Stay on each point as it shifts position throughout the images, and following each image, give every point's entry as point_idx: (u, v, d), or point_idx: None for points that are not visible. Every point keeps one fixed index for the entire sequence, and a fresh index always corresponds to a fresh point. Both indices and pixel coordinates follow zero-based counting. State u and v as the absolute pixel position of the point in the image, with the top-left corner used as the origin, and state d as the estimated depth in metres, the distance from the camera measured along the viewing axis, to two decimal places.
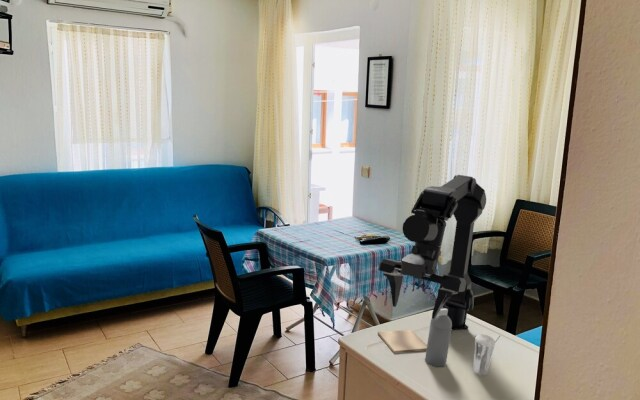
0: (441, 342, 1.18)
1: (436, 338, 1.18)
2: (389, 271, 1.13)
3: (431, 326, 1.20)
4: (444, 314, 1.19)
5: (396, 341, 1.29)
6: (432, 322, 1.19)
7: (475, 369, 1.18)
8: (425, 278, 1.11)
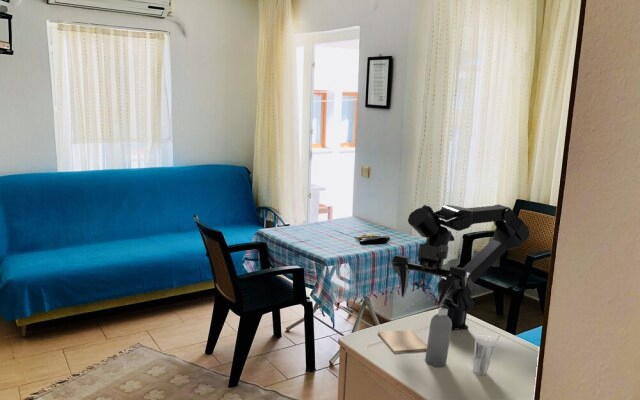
0: (441, 342, 1.18)
1: (436, 338, 1.18)
2: (402, 262, 1.28)
3: (431, 326, 1.20)
4: (444, 314, 1.19)
5: (396, 341, 1.29)
6: (432, 322, 1.19)
7: (475, 369, 1.18)
8: (433, 272, 1.28)
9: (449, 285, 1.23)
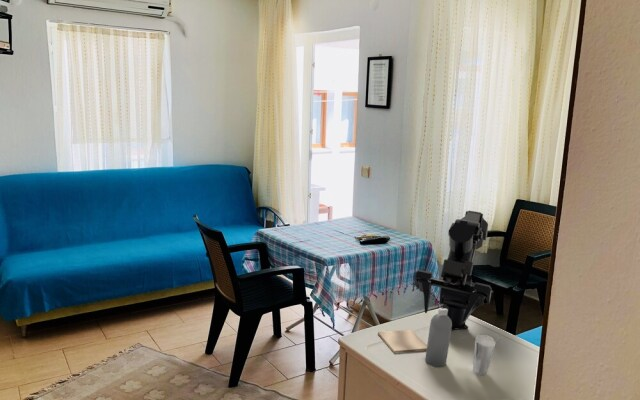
0: (441, 342, 1.18)
1: (436, 338, 1.18)
2: (425, 278, 1.27)
3: (431, 326, 1.20)
4: (444, 314, 1.19)
5: (396, 341, 1.29)
6: (432, 322, 1.19)
7: (475, 369, 1.18)
8: (456, 288, 1.26)
9: (474, 302, 1.22)
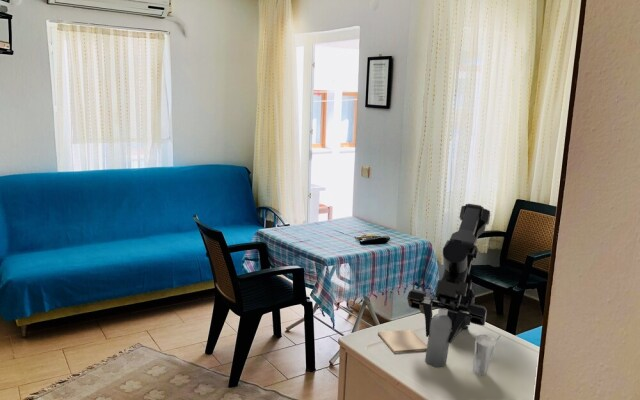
0: (441, 342, 1.18)
1: (436, 338, 1.18)
2: (419, 298, 1.23)
3: (431, 326, 1.20)
4: (444, 314, 1.19)
5: (396, 341, 1.29)
6: (432, 322, 1.19)
7: (475, 369, 1.18)
8: (442, 307, 1.23)
9: (460, 322, 1.19)
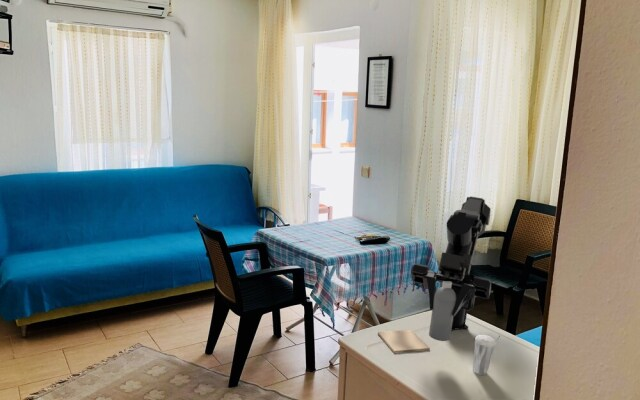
0: (445, 315, 1.17)
1: (440, 311, 1.17)
2: (422, 271, 1.22)
3: (435, 299, 1.18)
4: (448, 287, 1.18)
5: (396, 341, 1.29)
6: (436, 295, 1.18)
7: (475, 369, 1.18)
8: (446, 280, 1.22)
9: (464, 294, 1.18)
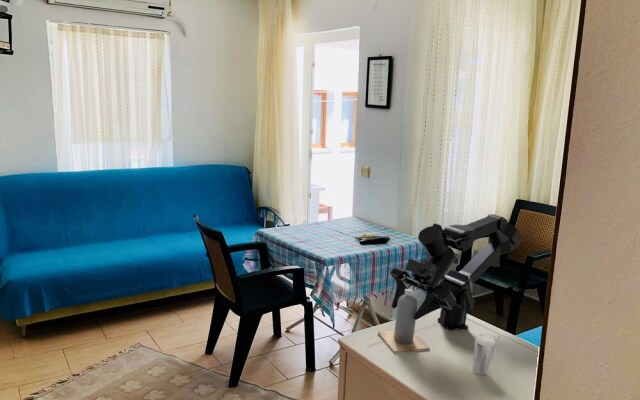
0: (403, 320, 1.27)
1: (399, 315, 1.28)
2: (397, 274, 1.33)
3: (397, 304, 1.29)
4: (409, 294, 1.27)
5: None
6: (398, 300, 1.29)
7: (475, 369, 1.18)
8: (421, 287, 1.30)
9: (428, 302, 1.25)
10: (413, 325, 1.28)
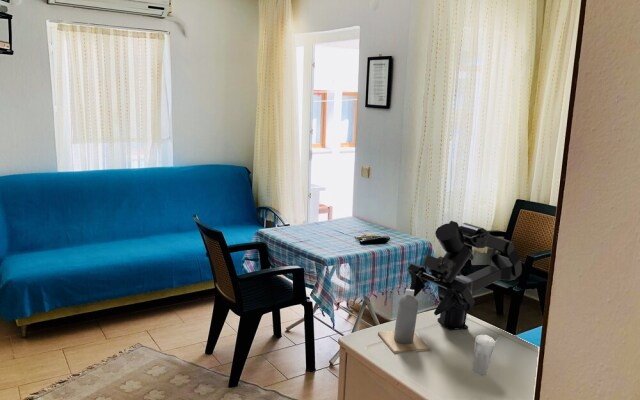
0: (403, 319, 1.27)
1: (399, 315, 1.28)
2: (414, 270, 1.38)
3: (398, 304, 1.29)
4: (410, 294, 1.28)
5: None
6: (399, 300, 1.29)
7: (475, 369, 1.18)
8: (440, 284, 1.34)
9: (448, 298, 1.28)
10: (413, 325, 1.28)
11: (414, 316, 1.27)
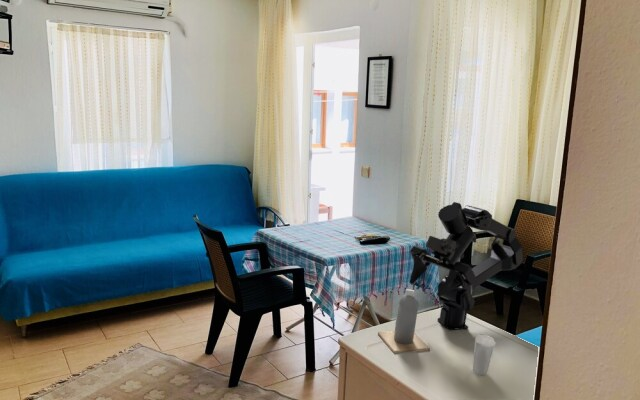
0: (403, 319, 1.27)
1: (400, 315, 1.28)
2: (417, 252, 1.37)
3: (398, 304, 1.29)
4: (410, 295, 1.28)
5: None
6: (399, 300, 1.29)
7: (475, 369, 1.18)
8: (443, 266, 1.33)
9: (451, 279, 1.27)
10: (413, 325, 1.28)
11: (414, 316, 1.27)
